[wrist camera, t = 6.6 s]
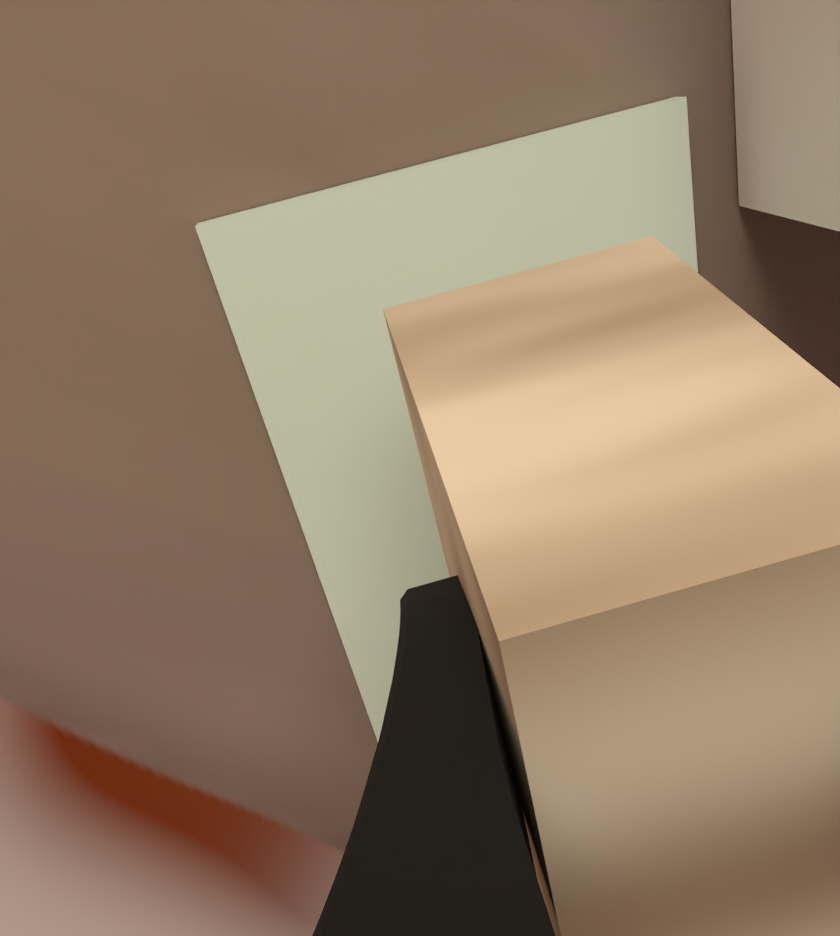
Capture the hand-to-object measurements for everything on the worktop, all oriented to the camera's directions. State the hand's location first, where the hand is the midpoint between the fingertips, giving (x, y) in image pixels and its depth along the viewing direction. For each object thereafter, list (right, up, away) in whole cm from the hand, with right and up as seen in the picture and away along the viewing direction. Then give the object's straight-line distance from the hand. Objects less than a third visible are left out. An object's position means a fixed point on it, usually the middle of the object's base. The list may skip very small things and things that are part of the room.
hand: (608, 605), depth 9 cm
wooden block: (0, 0, +3) cm, 3 cm away
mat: (-1, +1, +6) cm, 6 cm away
